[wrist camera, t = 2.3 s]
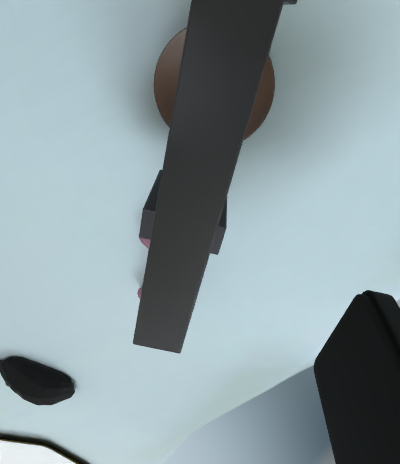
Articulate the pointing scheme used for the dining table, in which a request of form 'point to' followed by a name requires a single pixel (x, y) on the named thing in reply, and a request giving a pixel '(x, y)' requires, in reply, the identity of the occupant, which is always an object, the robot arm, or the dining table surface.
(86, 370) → the dining table surface
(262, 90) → the headphone stand
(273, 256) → the dining table surface
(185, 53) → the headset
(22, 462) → the plate
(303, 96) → the dining table surface
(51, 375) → the gaming mouse
